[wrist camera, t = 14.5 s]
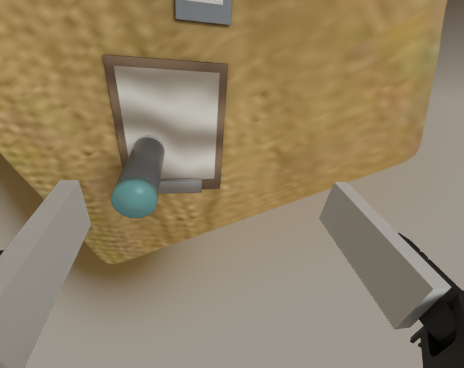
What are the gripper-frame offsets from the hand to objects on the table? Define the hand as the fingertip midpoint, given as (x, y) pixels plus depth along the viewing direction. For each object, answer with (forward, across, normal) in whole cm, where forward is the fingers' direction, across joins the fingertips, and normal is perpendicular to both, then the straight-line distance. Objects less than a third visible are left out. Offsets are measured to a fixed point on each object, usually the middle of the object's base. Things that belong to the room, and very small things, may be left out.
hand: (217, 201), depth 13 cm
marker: (+21, -6, -7) cm, 23 cm away
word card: (+22, 0, +10) cm, 25 cm away
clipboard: (+22, -3, -5) cm, 23 cm away
